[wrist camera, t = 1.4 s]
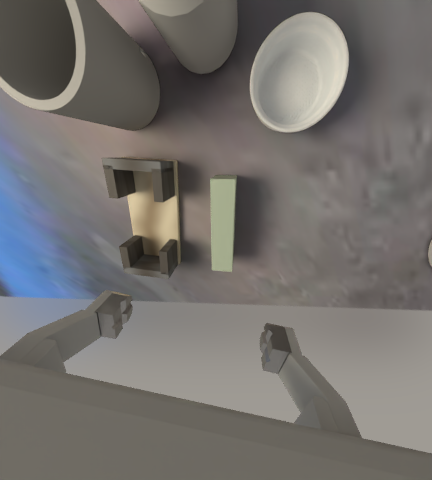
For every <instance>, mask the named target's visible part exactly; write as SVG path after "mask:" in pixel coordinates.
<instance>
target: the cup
mask: <svg viewBox="0 0 432 480" xmlns="http://www.w3.org/2000/svg"><path fill="white" fill-rule="evenodd" d="M0 87H1V88H2V89H3V90H4V91H5V92H6V93H8V95H10V96H11V97H12V98H14V99H16V100H17V101H18V102H20V103H22V104H24V105H26V106H28V107H30V108H33V109H36V110H41V111H45V112H50V113H54V114H58V115H63V116H67V117H72V118H76V119H81V120H85V121H90V122H94V123H98V124H103V125H107V126H112V127H116V128H121V129H125V130H139V129H142V128H143V127H145V126H147V125H148V124H149V123H150V122H151V121H152V119H153V118H154V116H155V114H156V112H157V110H158V106H159V102H160V101H159V100H160V85H159V80H158V76H157V72H156V70H155V67H154V65H153V63H152V61H151V60H150V58H149V57H148V55H147V54H146V53H145V52H144V50H143V49H142V48H141V47H140V46H139V45H138V44H137V43H136V42H135V41H134V40H133V39H132V38H131V37H130V36H129V35H128V34H127V33H126V31H125V30H124V29H123V28H122V27H121V26H120V25H119V24H118V23H117V22H116V21H115V20H114V19H113V18H112V17H111V16H110V15H109V13H108V12H107V11H106V10H105V9H104V8H103V7H102V6H101V5H100V4H99V3H98V2H97V1H96V0H0Z"/></svg>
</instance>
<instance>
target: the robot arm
mask: <svg viewBox="0 0 432 480" xmlns="http://www.w3.org/2000/svg"><path fill="white" fill-rule="evenodd" d="M428 258H429V262H430V265H431V267H432V240H431V243H430V246H429V251H428ZM131 301H132V296H130V295H126V294H122V293H118V292H113V291H109V290H106V291H104V292H103V293H102V294H101V295H100V296H99V297H98V298H97V299H96V300H95V301H94V302H93V303H92V304H91V305H89V306H88V307H87V309H86V310H80V311H78V312H76V313H74V314H71V315H69V316H67V317H64V318H62V319H60V320H57V321H55V322H53V323H50V324H48V325H46V326H43V327H41V328H39V329H37V330H34V331H32V332H30V333H27V334H26V335H25V336H24V337H22V338H21V339H20V340H19V341H18V342H16V343H15V344H14V345H13V346H12V347H11V348H9V349H8V350H7V351H6V352H4V353H3V354H2V355H1V356H0V480H432V454H431V453H427V452H422V451H417V450H413V449H409V448H404V447H399V446H395V445H390V444H386V443H381V442H376V441H372V440H368V439H363V438H362V437H361V435H360V432H359V430H358V428H357V426H356V423H355V421H354V419H353V417H352V414H351V412H350V410H349V408H348V406H347V403H346V402H345V401H344V399H343V398H342V397H341V396H340V395H339V394H338V393H337V391H336V390H335V389H334V388H333V387H332V386H331V385H330V384H329V383H328V382H327V380H326V379H325V378H324V377H323V376H322V375H321V374H320V372H319V371H318V370H317V369H316V368H315V367H314V366H313V365H312V364H311V362H310V361H309V360H308V359H307V358H306V357H305V356H302V353H301V350H300V347H299V344H298V341H297V338H296V335H295V332H294V330H293V329H292V328H288V327H283V326H279V325H274V324H269V323H266V324H265V326H264V330H265V331H264V332H262V334H261V337H260V350H261V352H262V353H263V355H262V357H261V359H262V367H263V370H264V371H268V372H272V373H277V374H278V375H279V377H280V379H281V380H282V382H283V384H284V385H285V387H286V389H287V390H288V392H289V394H290V396H291V397H292V399H293V401H294V402H295V404H296V405H297V407H298V409H299V411H300V412H301V414H300V416H299V417H298V418H297V420H296V421H295V422H294V423H289V422H286V421H281V420H276V419H272V418H267V417H263V416H258V415H254V414H249V413H244V412H240V411H235V410H231V409H226V408H221V407H217V406H213V405H208V404H204V403H199V402H194V401H190V400H186V399H181V398H176V397H172V396H167V395H163V394H158V393H154V392H149V391H144V390H140V389H135V388H131V387H126V386H122V385H117V384H113V383H108V382H103V381H99V380H94V379H90V378H85V377H81V376H76V375H71V374H67V373H66V369H65V366H64V363H63V362H65V361H66V360H67V359H69V358H70V357H72V356H73V355H75V354H76V353H78V352H79V351H81V350H82V349H84V348H85V347H87V346H88V345H90V344H91V343H92V342H94V341H95V340H97V339H99V338H100V337H101V336H102V337H108V338H114V339H116V338H117V336H118V335H119V333H120V332H121V330H122V329H123V327H122V325H123V324H124V323H126V322H127V321H128V320H129V318H130V316H131V314H132V305H131Z"/></svg>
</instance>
